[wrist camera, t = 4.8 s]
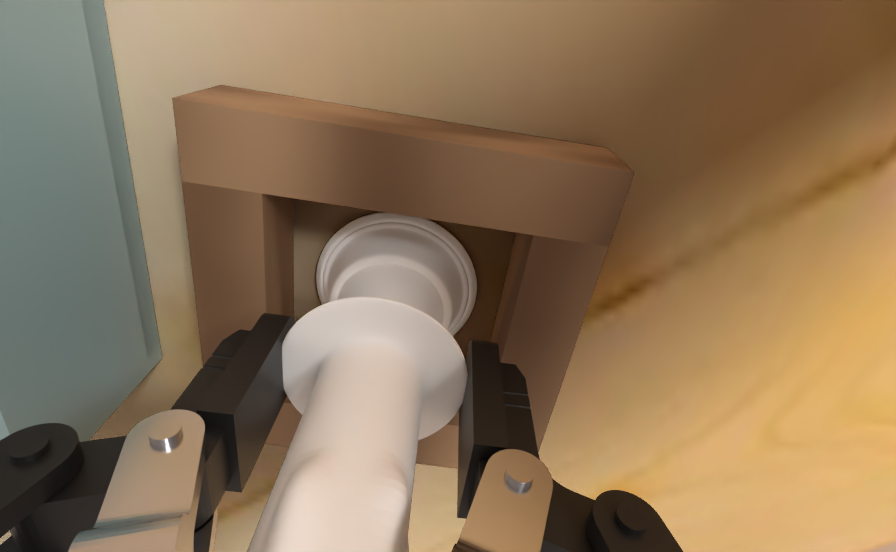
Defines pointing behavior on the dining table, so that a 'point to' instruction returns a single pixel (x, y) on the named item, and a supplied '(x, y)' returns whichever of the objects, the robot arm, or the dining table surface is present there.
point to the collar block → (398, 192)
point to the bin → (67, 225)
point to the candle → (369, 385)
